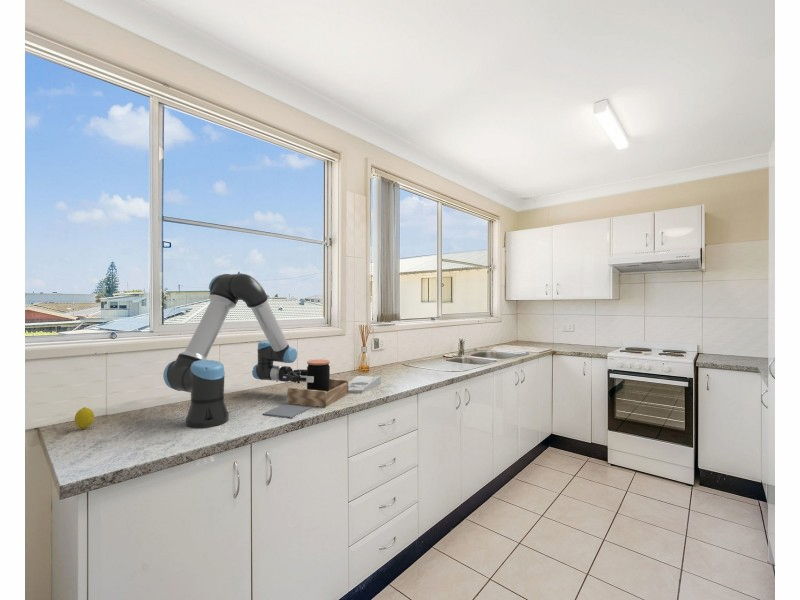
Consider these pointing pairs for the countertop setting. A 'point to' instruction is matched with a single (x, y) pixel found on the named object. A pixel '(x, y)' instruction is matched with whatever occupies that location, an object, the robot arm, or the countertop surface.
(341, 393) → the wooden tray
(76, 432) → the countertop surface
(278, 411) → the rubber mat
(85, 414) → the lemon
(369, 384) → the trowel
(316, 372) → the coffee jar
